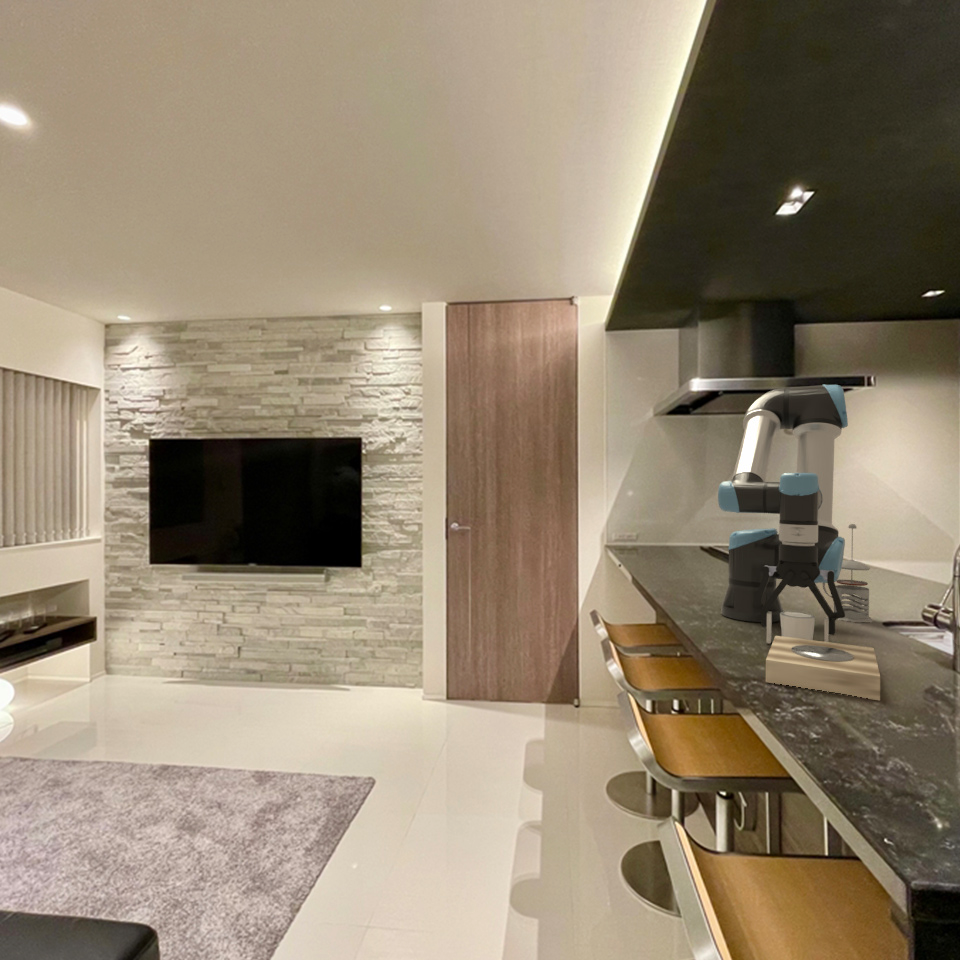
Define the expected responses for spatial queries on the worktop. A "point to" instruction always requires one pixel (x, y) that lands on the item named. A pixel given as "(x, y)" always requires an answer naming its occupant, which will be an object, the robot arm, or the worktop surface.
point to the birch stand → (824, 667)
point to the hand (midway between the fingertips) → (797, 645)
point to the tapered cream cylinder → (797, 625)
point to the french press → (853, 592)
